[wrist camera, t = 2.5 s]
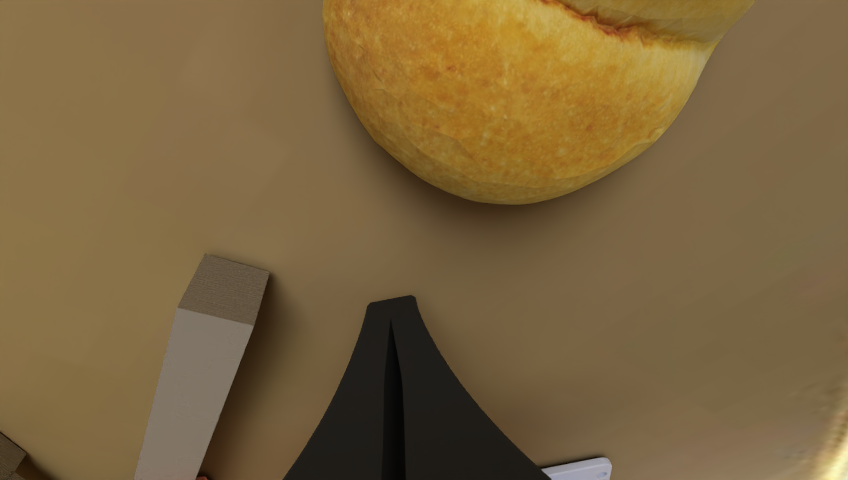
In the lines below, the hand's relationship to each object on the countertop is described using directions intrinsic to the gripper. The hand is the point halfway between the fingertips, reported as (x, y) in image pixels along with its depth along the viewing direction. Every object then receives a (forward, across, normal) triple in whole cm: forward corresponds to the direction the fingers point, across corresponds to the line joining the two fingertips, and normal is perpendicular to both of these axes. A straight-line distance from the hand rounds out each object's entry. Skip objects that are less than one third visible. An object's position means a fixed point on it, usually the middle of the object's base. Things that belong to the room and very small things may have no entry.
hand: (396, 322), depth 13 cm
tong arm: (+1, +8, +3) cm, 9 cm away
